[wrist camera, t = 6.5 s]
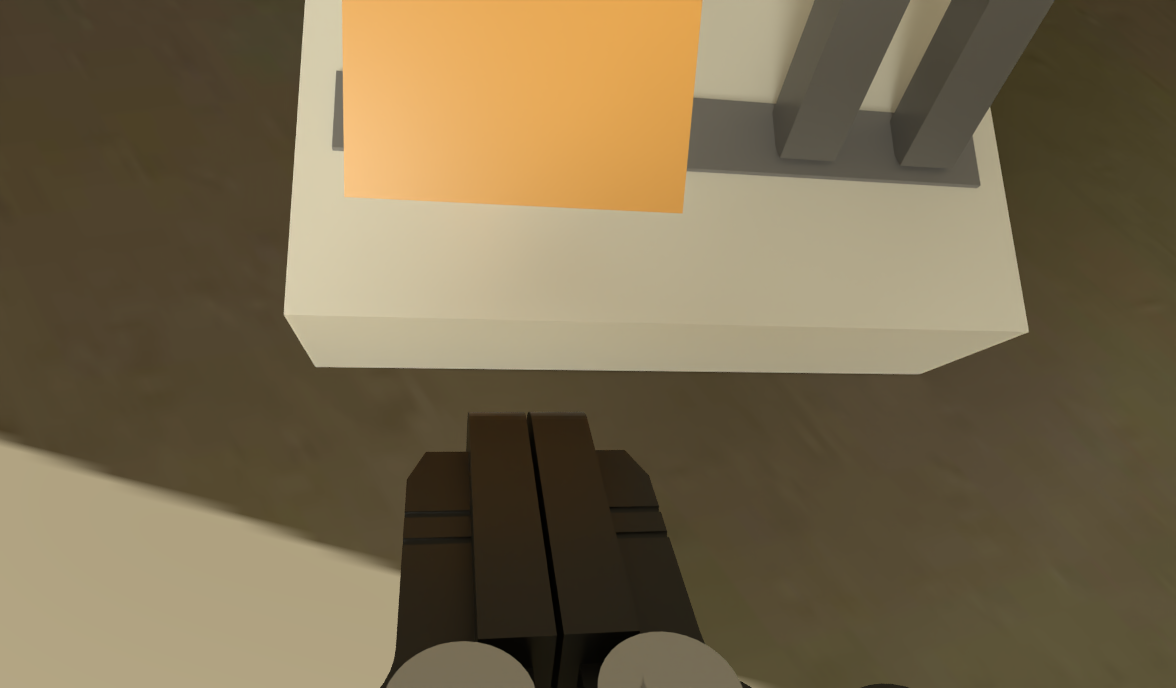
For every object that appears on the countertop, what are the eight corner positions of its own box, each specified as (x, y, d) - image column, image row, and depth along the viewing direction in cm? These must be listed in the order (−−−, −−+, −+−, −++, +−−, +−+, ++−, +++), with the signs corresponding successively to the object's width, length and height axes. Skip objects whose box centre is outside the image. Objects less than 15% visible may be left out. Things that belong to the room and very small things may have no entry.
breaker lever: (561, 59, 23) (703, -10, 10) (556, 163, 23) (682, 213, 11) (398, 46, 22) (341, -47, 9) (397, 153, 22) (343, 196, 10)
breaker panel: (881, 93, 34) (1102, -138, 23) (919, 374, 31) (1197, 267, 20) (333, 49, 30) (272, -258, 19) (315, 366, 27) (230, 227, 16)
